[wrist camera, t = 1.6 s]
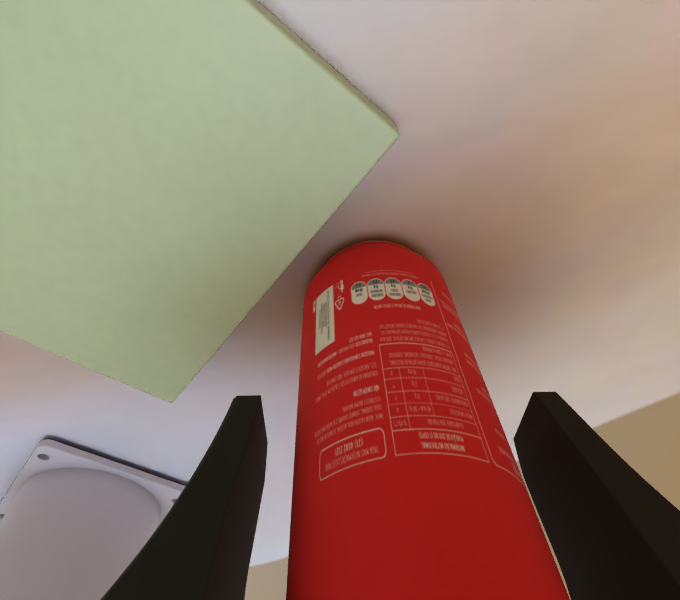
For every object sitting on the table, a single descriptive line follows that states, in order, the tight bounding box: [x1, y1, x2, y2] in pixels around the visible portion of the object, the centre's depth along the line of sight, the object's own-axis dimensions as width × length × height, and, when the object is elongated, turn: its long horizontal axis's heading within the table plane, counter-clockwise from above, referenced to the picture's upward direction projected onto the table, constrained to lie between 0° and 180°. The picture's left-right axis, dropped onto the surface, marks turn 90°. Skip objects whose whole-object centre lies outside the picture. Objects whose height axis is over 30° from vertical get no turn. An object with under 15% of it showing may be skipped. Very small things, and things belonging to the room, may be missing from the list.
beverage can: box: [286, 240, 570, 600], centre depth 12 cm, size 5×5×12 cm
